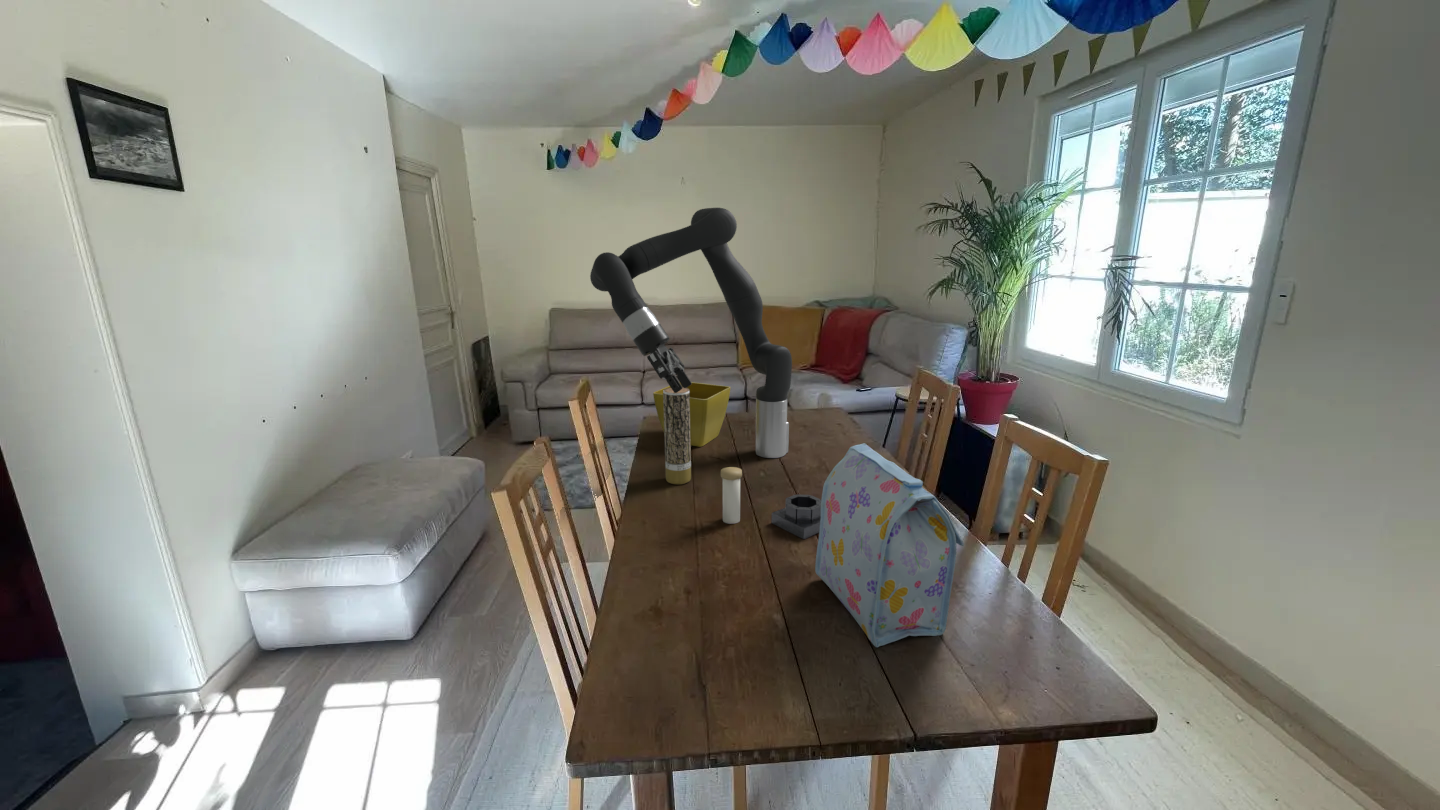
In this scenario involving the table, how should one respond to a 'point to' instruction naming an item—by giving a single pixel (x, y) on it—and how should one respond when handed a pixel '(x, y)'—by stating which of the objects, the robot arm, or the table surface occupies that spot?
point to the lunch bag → (886, 548)
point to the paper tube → (677, 435)
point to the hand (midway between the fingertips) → (683, 388)
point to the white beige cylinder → (731, 494)
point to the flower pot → (701, 410)
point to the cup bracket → (799, 515)
